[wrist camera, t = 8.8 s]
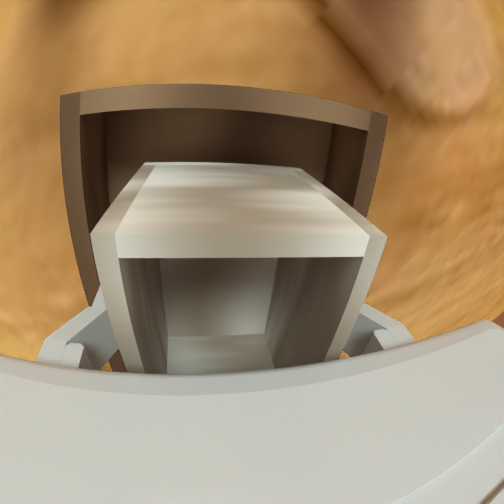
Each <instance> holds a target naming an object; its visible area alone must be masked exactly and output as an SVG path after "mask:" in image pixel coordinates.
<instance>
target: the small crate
mask: <svg viewBox="0 0 504 504" xmlns="http://www.w3.org/2000/svg"><path fill="white" fill-rule="evenodd" d="M90 237H91V243H92V248H93V253H94V258H95V263H96V268H97V273H98V277H99V281H100V286H101V290H102V294H103V298H104V301H105V305H106V309H107V312H108V316H109V319H110V323H111V326H112V329H113V332H114V336H115V339H116V342H117V345H118V348H119V351H120V353H121V356H122V359H123V362H124V365H125V367H126V370H127V373H148V374H205V373H227V372H242V371H255V370H265V369H275V368H284V367H292V366H300V365H307V364H314V363H320V362H326V361H332V360H338V359H339V357H340V355H341V352H342V350H343V348H344V346H345V344H346V342H347V340H348V338H349V335H350V333H351V331H352V329H353V326H354V324H355V322H356V320H357V317H358V315H359V313H360V310H361V308H362V305H363V303H364V300H365V298H366V295H367V293H368V290H369V288H370V285H371V283H372V280H373V277H374V275H375V272H376V269H377V266H378V264H379V261H380V258H381V255H382V252H383V249H384V246H385V243H386V240H387V236H386V235H385V234H384V233H383V232H381V231H380V230H379V229H378V228H377V227H376V226H374V225H373V224H372V223H371V222H370V221H368V220H367V219H366V218H365V217H363V216H362V215H361V214H360V213H359V212H357V211H356V210H355V209H354V208H352V207H351V206H350V205H349V204H347V203H346V202H345V201H344V200H342V199H341V198H340V197H338V196H337V195H336V194H334V193H333V192H332V191H331V190H329V189H328V188H327V187H325V186H324V185H323V184H321V183H320V182H318V181H317V180H316V179H314V178H313V177H312V176H310V175H309V174H307V173H306V172H305V171H303V170H302V169H300V168H294V167H283V166H270V165H256V164H238V163H213V162H146V163H144V164H143V165H142V167H141V168H140V169H139V170H138V171H137V173H136V174H135V175H134V176H133V177H132V179H131V180H130V181H129V182H128V184H127V185H126V186H125V187H124V189H123V190H122V191H121V192H120V194H119V195H118V196H117V198H116V199H115V200H114V201H113V203H112V204H111V205H110V207H109V208H108V209H107V211H106V212H105V214H104V215H103V216H102V218H101V219H100V221H99V222H98V223H97V225H96V226H95V228H94V229H93V231H92V232H91V233H90Z"/></svg>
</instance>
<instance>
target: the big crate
mask: <svg viewBox="0 0 504 504" xmlns="http://www.w3.org/2000/svg"><path fill="white" fill-rule="evenodd" d="M387 119H388V116H386V115H383V114H380V113H377V112H373V111H370V110H367V109H363V108H359V107H356V106H352V105H348V104H344V103H340V102H335V101H331V100H327V99H322V98H317V97H312V96H307V95H301V94H296V93H290V92H283V91H277V90H269V89H261V88H252V87H242V86H230V85H213V84H150V85H134V86H122V87H112V88H104V89H96V90H89V91H83V92H77V93H71V94H66V95H61V96H60V146H61V163H62V175H63V185H64V193H65V201H66V208H67V215H68V221H69V227H70V232H71V237H72V242H73V247H74V252H75V256H76V260H77V265H78V269H79V273H80V277H81V280H82V284H83V288H84V291H85V295H86V298H87V301H88V305H89V307H92V304H93V302H94V299H95V297H96V294H97V292H98V289H99V287H100V281H99V277H98V273H97V268H96V263H95V258H94V253H93V248H92V243H91V237H90V233H91V232H92V231H93V229H94V228H95V226H96V225H97V223H98V222H99V221H100V219H101V218H102V216H103V215H104V214H105V212H106V211H107V209H108V208H109V207H110V205H111V204H112V203H113V201H114V200H115V199H116V198H117V196H118V195H119V194H120V192H121V191H122V190H123V189H124V187H125V186H126V185H127V184H128V182H129V181H130V180H131V179H132V177H133V176H134V175H135V174H136V173H137V171H138V170H139V169H140V168H141V167H142V165H143V164H144V163H146V162H213V163H238V164H256V165H270V166H283V167H294V168H300V169H302V170H303V171H305V172H306V173H307V174H309V175H310V176H312V177H313V178H314V179H316V180H317V181H318V182H320V183H321V184H323V185H324V186H325V187H327V188H328V189H329V190H331V191H332V192H333V193H334V194H336V195H337V196H338V197H340V198H341V199H342V200H344V201H345V202H346V203H347V204H349V205H350V206H351V207H352V208H354V209H355V210H356V211H357V212H359V213H360V214H361V215H362V216H363V217H365V218H366V217H367V213H368V209H369V205H370V201H371V197H372V193H373V189H374V185H375V181H376V176H377V172H378V167H379V162H380V157H381V152H382V147H383V142H384V136H385V131H386V125H387ZM109 363H110V365H111V368H112V370H113V372H126V373H127V370H126V367H125V365H124V362H123V359H122V356H121V353H120V351H119V348H118V350H117V351H116V352H115V353H114V354H113V355H112V357H111V358H110V359H109Z"/></svg>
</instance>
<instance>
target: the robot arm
mask: <svg viewBox="0 0 504 504" xmlns="http://www.w3.org/2000/svg"><path fill="white" fill-rule="evenodd" d="M117 350H118V345H117V342H116V339H115V336H114V332H113V329H112V326H111V323H110V319H109V316H108V312H107V309H106V305H105V301H104V298H103V294H102V290H101V286H100V287H99V289H98V292H97V294H96V297H95V299H94V302H93V304H92V307H87V308H86V309H84V310H83V311H82V312H80V313H79V314H77V315H76V316H75V317H73V318H72V319H71V320H69V321H68V322H67V323H65V324H64V325H63V326H61V327H60V328H59V329H57V330H56V331H55V332H53V333H52V334H51V335H49V336H48V337H47V338H46V339H45V341H44V343H43V345H42V348H41V350H40V353H39V355H38V358H37V361H36V362H34V361H29V360H24V359H19V358H14V357H10V356H6V355H2V354H0V504H504V328H502V327H500V326H499V325H497V324H495V323H493V322H491V321H489V320H480V321H477V322H475V323H472V324H469V325H467V326H464V327H461V328H458V329H455V330H452V331H449V332H446V333H443V334H440V335H437V336H433V337H430V338H427V339H423V340H420V341H415V340H414V339H413V337H412V336H411V334H410V333H409V332H408V330H407V329H406V328H405V326H404V325H403V324H402V323H400V322H398V321H396V320H394V319H392V318H391V317H389V316H387V315H385V314H383V313H382V312H380V311H378V310H376V309H374V308H372V307H371V306H369V305H367V304H365V303H363V305H362V308H361V310H360V313H359V315H358V317H357V320H356V322H355V324H354V326H353V329H352V331H351V333H350V335H349V338H348V340H347V342H346V344H345V346H344V348H343V351H344V352H345V353H347V354H348V355H349V356H350V357H349V358H344V359H338V360H332V361H326V362H320V363H314V364H307V365H300V366H292V367H284V368H275V369H265V370H255V371H242V372H227V373H205V374H148V373H126V372H111V371H100V369H101V368H102V367H103V366H104V365H105V364H106V362H107V361H108V360H109V359H110V358H111V357H112V355H113V354H114V353H115V352H116V351H117Z"/></svg>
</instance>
